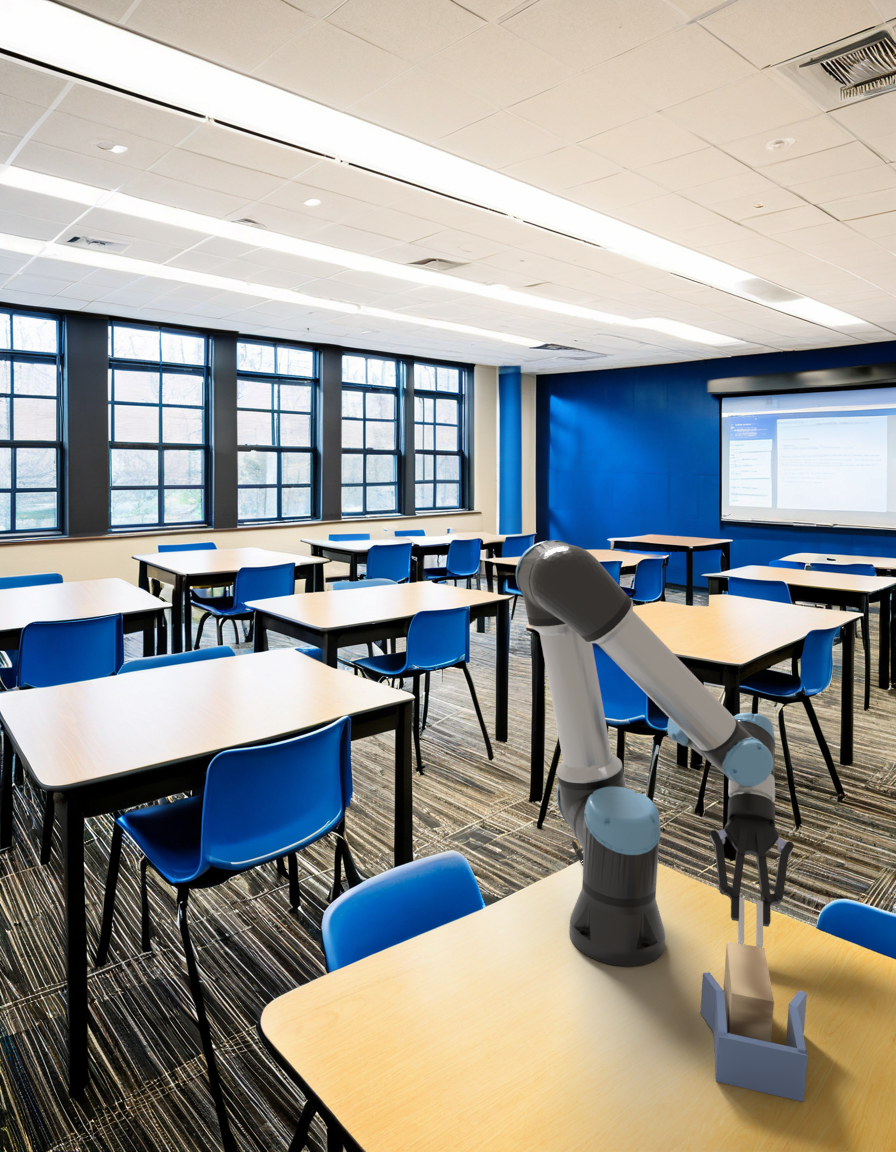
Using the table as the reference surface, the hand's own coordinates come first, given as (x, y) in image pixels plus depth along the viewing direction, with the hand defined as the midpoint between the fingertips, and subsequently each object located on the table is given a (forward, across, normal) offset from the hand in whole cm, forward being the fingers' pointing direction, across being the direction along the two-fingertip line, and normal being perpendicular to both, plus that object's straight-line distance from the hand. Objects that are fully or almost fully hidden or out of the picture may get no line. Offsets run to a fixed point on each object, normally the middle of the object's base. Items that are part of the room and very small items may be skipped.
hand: (750, 944), depth 119 cm
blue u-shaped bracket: (+17, 0, +13) cm, 21 cm away
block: (+14, +1, +10) cm, 17 cm away
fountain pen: (-14, +30, -20) cm, 39 cm away
